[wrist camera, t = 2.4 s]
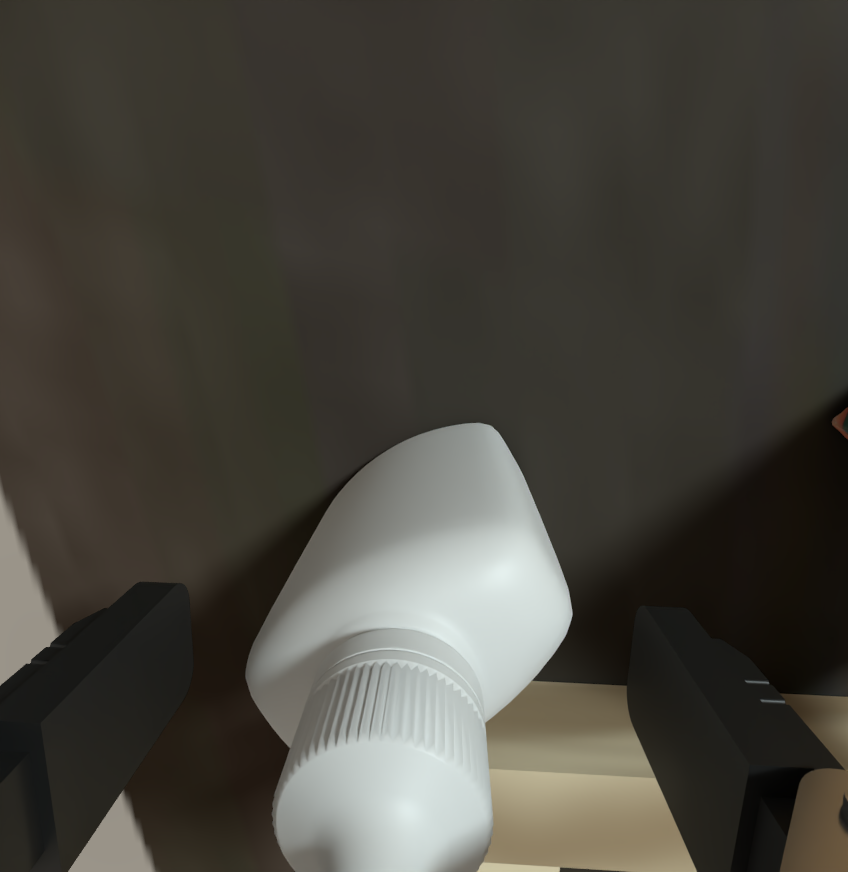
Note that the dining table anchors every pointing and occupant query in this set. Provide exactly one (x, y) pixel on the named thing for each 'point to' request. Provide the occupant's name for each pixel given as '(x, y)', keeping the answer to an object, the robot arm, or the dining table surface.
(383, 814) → the eye dropper bottle
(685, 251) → the dining table surface
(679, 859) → the hollow square block
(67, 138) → the dining table surface
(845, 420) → the crayon box
